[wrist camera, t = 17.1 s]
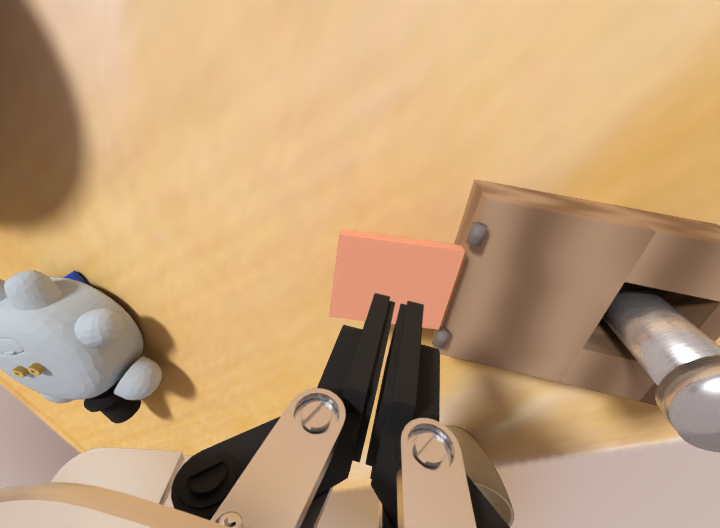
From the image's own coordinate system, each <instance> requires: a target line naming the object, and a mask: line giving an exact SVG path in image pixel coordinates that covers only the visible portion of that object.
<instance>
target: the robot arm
mask: <svg viewBox="0 0 720 528" xmlns="http://www.w3.org/2000/svg"><path fill="white" fill-rule="evenodd" d="M389 300H390V296H386V295H382V294H378V293H374V296H373V299H372V303H371V306H370V309H369V312H368V315H367V318H366V321H365V324H364V327H363V330H362V329H358V328H354V327H350V326H346V325H343V327H342V329H341V331H340V334H339V336H338V338H337V341H336V343H335V346H334V348H333V351H332V353H331V355H330V358H329V360H328V363H327V365H326V368H325V370H324V372H323V375H322V377H321V380H320V382H319V385H318V387H317V388H312V389H308V390H305V391H303V392H301V393H300V394H298V395H297V396H296V397H295V398H294V399H293V400H292V401H291V402H290V404H289V405H288V407H287V408H286V410H285V411H284V413H283V414H282V416H280V417H278V418H276V419H274V420H271V421H269V422H267V423H264V424H262V425H260V426H258V427H255V428H253V429H251V430H248V431H246V432H244V433H241V434H239V435H237V436H235V437H232V438H230V439H228V440H225V441H223V442H221V443H218V444H216V445H214V446H212V447H209V448H207V449H205V450H202V451H201V452H199V453H197V454H195V455H194V456H192V455H183V453H182V451H169V450H148V449H128V448H107V447H103V448H95V449H91V450H88V451H86V452H83V453H81V454H79V455H77V456H76V457H74V458H73V459H72V460H70V461H68V462H67V463H66V464H65V465H64V466H63V467H62V468H61V469H60V470H59V471H58V472H57V474H56V475H55V476H54V478H53V479H52V480H51V482H47V483H31V484H25V485H19V486H13V487H7V488H4V489H0V528H317V525H318V523H319V520H320V518H321V515H322V513H323V511H324V509H325V506H326V504H327V502H328V499H329V497H330V494H331V492H332V489H333V486H335V485H337V484H338V483H340V482H342V481H343V480H345V479H347V478H348V475H349V472H350V468H351V464H352V460H353V461H357V462H360V459H361V454H362V450H363V446H364V442H365V438H366V434H367V429H368V425H369V421H370V417H371V413H372V408H373V404H374V400H375V396H376V391H377V387H378V382H379V377H380V373H381V368H382V363H383V359H384V354H385V349H386V344H387V340H388V335H389V330H390V326H391V321H392V316H393V312H394V307H395V302H393V301H389ZM423 310H424V304H420V303H416V302H412V301H407V305H406V304H400V307H399V311H398V316H397V320H396V324H395V328H394V332H393V336H392V340H391V344H390V348H389V352H388V356H387V361H386V365H385V370H384V375H383V379H382V384H381V389H380V394H379V399H378V404H377V409H376V414H375V419H374V424H373V429H372V434H371V439H370V444H369V449H368V454H367V459H366V465H370V466H372V472H371V477H370V479H372V481H371V486H372V488H373V489H374V491H375V493H376V495H377V496H378V498H379V500H380V503H379V528H510V527H509V526H508V524H507V523H506V522H505V521H504V520H503V518H502V517H501V516H500V515H499V513H498V512H497V511H496V510H495V508H494V507H493V506H492V505H491V504H490V502H489V501H488V500H487V499H486V497H485V496H484V495H483V494H482V492H481V491H480V490H479V489H478V487H477V486H476V485H475V484H474V483H473V481H472V480H471V479H470V478H469V476H468V475H467V474H466V473H465V468H464V463H463V458H462V453H461V449H460V446H459V443H458V440H457V439H456V437H455V436H454V434H453V433H452V432H451V431H450V430H449V429H448V428H447V427H446V426H445V425H443V424H441V423H440V422H439V393H440V351H439V349H437V348H433V347H429V346H425V345H421V335H422V322H423Z"/></svg>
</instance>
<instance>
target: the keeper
mask: <svg viewBox="0 0 720 528" xmlns="http://www.w3.org/2000/svg"><path fill="white" fill-rule="evenodd" d="M464 253H465V250H464V249H463V247H462V246H461V245H453V244H446V243H439V242H431V241H424V240H416V239H409V238H402V237H394V236H387V235H379V234H372V233H365V232H357V231H350V230H342V229H340V233H339V240H338V248H337V256H336V265H335V273H334V281H333V289H332V297H331V305H330V313H329V317H336V318H345V319H353V320H362V321H366V318H367V315H368V312H369V309H370V306H371V303H372V299H373V296H374V293H378V294H382V295H386V296H390V300H389V301H393V302H395V307H394V312H393V316H392V321H391V324H396V320H397V316H398V311H399V307H400V304H406V305H407V301H412V302H416V303H420V304H424V310H423V322H422V328H430V329H438V330H439V328H440V325H441V322H442V319H443V316H444V313H445V310H446V307H447V304H448V301H449V298H450V295H451V292H452V289H453V286H454V283H455V280H456V277H457V274H458V271H459V268H460V265H461V262H462V259H463V256H464Z"/></svg>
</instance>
